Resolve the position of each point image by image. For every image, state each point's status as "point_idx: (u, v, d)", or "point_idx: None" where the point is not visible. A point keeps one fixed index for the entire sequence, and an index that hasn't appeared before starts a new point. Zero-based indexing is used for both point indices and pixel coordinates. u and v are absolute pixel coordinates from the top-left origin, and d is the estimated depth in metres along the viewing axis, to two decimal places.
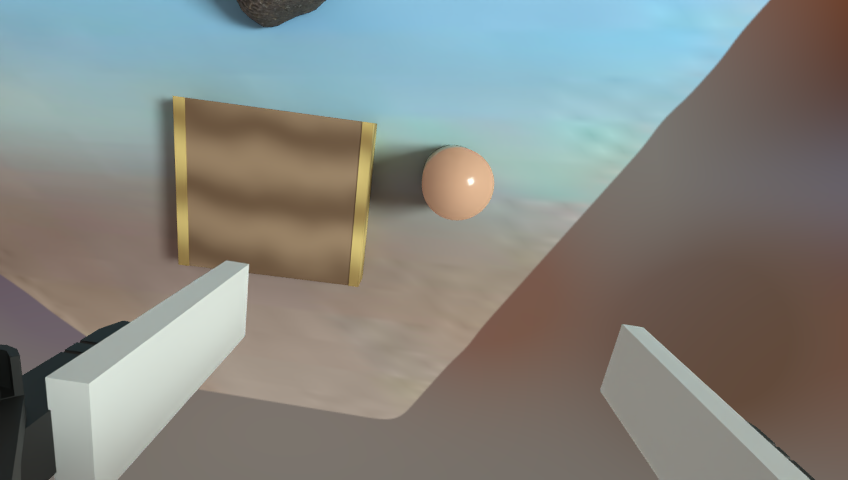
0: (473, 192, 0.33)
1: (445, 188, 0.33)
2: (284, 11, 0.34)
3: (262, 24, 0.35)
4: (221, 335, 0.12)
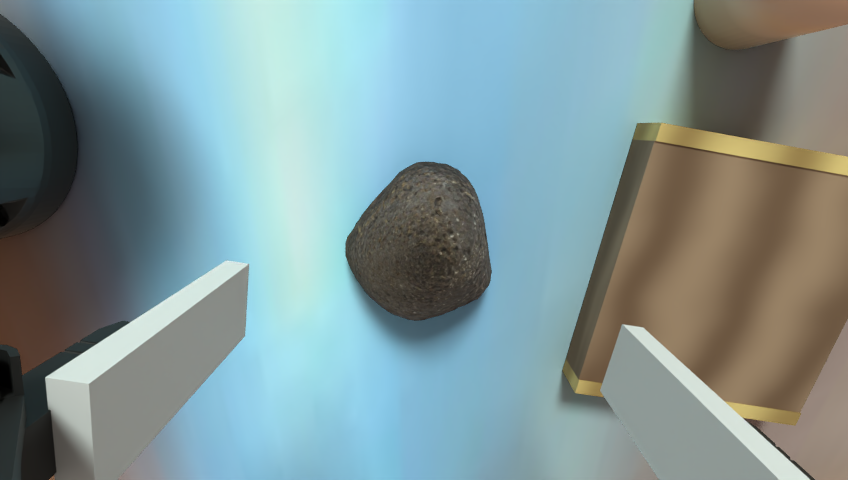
0: None
1: None
2: None
3: None
4: (221, 335, 0.12)
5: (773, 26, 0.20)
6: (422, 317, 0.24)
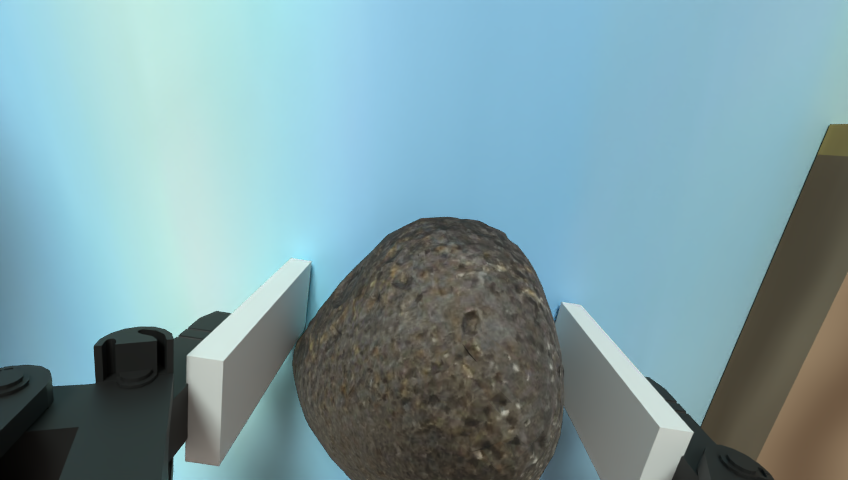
0: None
1: None
2: None
3: None
4: (292, 325, 0.13)
5: None
6: None
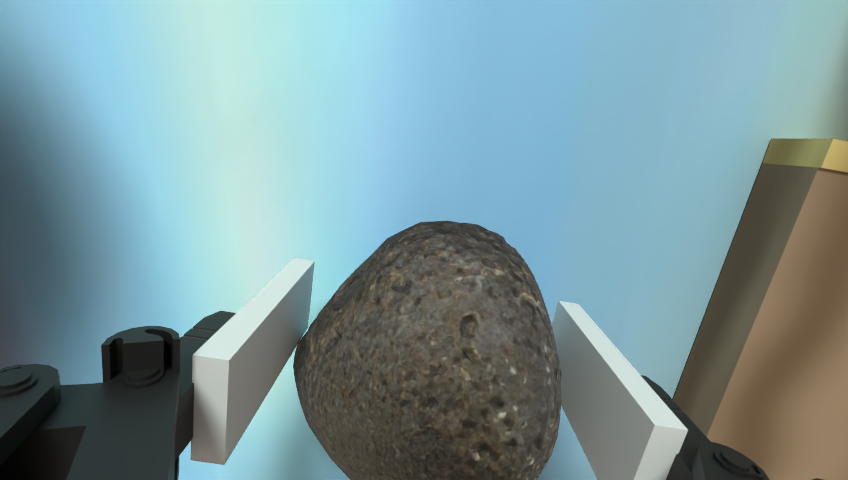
0: None
1: None
2: None
3: None
4: (295, 325, 0.13)
5: None
6: None
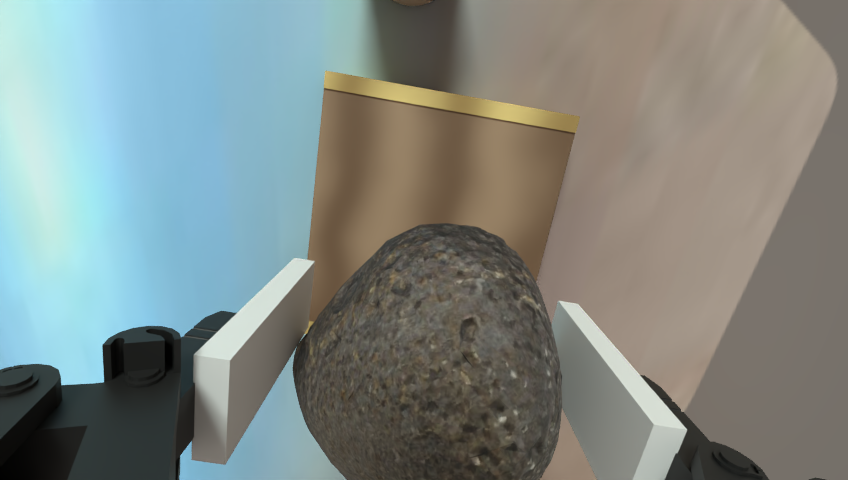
0: None
1: None
2: None
3: None
4: (296, 325, 0.13)
5: None
6: None
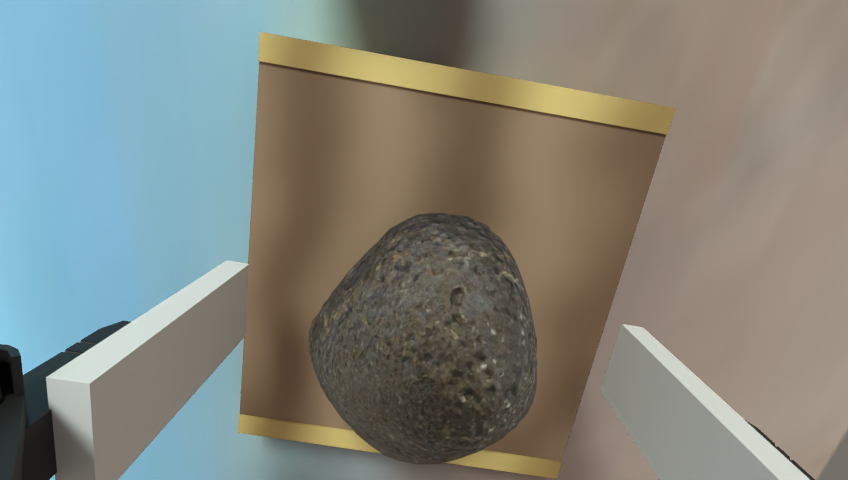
0: None
1: None
2: None
3: None
4: (221, 335, 0.12)
5: None
6: None
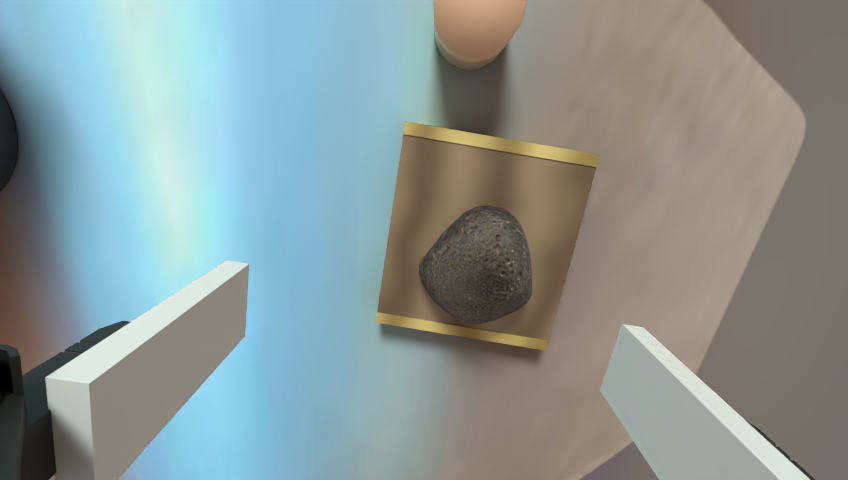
0: None
1: (482, 20, 0.26)
2: None
3: None
4: (221, 335, 0.12)
5: (455, 55, 0.29)
6: (481, 322, 0.32)
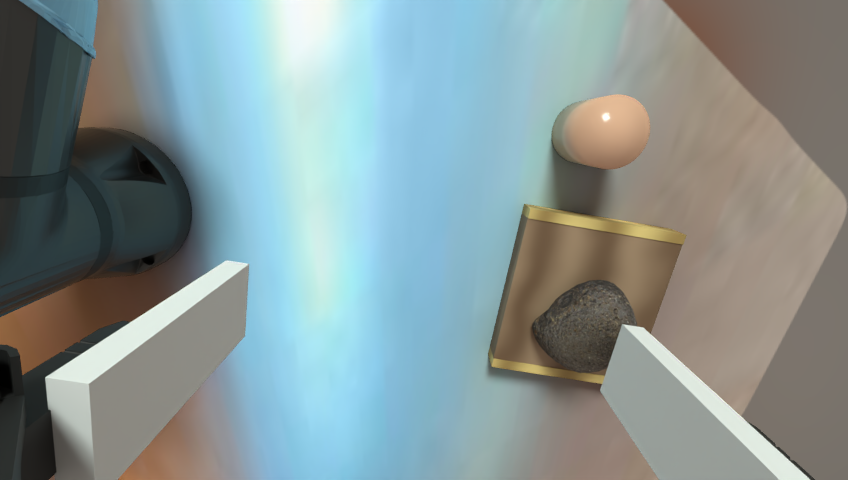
0: (623, 116, 0.33)
1: (614, 145, 0.33)
2: None
3: None
4: (221, 335, 0.12)
5: (581, 162, 0.36)
6: (590, 372, 0.39)
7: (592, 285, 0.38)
